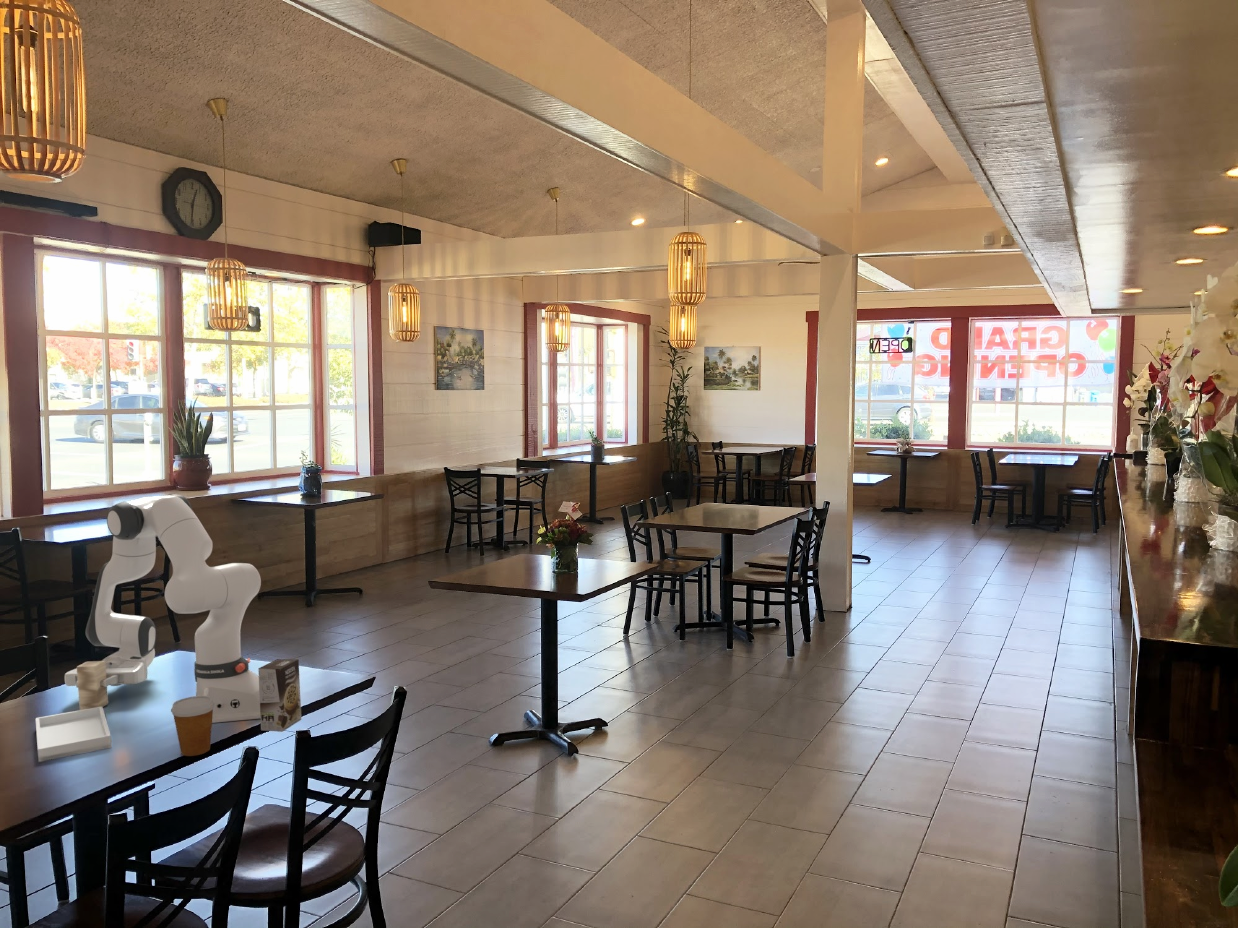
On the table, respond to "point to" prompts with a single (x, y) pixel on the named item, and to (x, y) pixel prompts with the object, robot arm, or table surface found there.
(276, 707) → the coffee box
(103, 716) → the tray
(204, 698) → the disposable coffee cup
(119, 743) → the table surface
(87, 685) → the ash block
